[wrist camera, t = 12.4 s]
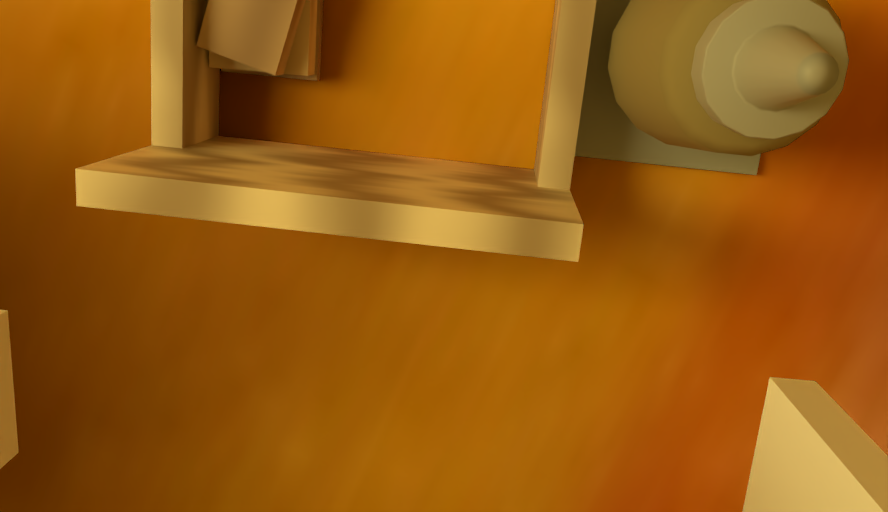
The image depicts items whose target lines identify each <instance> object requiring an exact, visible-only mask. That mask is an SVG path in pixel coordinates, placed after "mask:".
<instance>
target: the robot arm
mask: <svg viewBox="0 0 888 512" xmlns="http://www.w3.org/2000/svg"><path fill="white" fill-rule="evenodd" d="M18 453H19V450H18V437H17V424H16V411H15V398H14V385H13V372H12V359H11V345H10V332H9V319H8V310H0V469H1V468H2V467H3V466H4V465H5V464H6V463H8V462H9V461H10V460H11V459H12V458H13V457H14V456H15V455H16V454H18ZM743 512H888V456H887V455H886V454H885V453H884V452H883V451H882V449H881V448H880V447H879V446H878V445H877V444H876V443H875V442H874V441H873V440H872V439H871V438H870V437H869V436H868V435H867V434H866V433H865V432H864V431H863V430H862V429H861V428H860V427H859V426H858V425H857V424H856V423H855V422H854V421H853V419H852V418H851V417H850V416H849V415H848V414H847V413H846V412H845V411H844V410H843V409H842V408H841V407H840V406H839V405H838V404H837V403H836V402H835V401H834V400H833V399H832V398H831V397H830V396H829V395H828V394H827V393H826V392H825V391H824V390H823V388H822V387H821V386H820V385H819V384H818V383H817V382H816V381H809V380H798V379H786V378H775V377H770V379H769V384H768V388H767V393H766V398H765V403H764V408H763V413H762V418H761V423H760V428H759V433H758V438H757V443H756V448H755V453H754V458H753V463H752V468H751V472H750V477H749V482H748V487H747V492H746V497H745V502H744V507H743Z"/></svg>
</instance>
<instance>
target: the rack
mask: <svg viewBox="0 0 888 512" xmlns="http://www.w3.org/2000/svg"><path fill="white" fill-rule="evenodd" d="M207 4H208V0H151V131H152V145H151V146H147V147H144V148H141V149H138V150H134V151H131V152H128V153H125V154H121V155H118V156H115V157H112V158H109V159H105V160H102V161H99V162H96V163H92V164H89V165H86V166H83V167H79V168H76V169H75V175H76V206H82V207H91V208H100V209H109V210H118V211H127V212H136V213H145V214H154V215H163V216H172V217H180V218H189V219H198V220H207V221H216V222H225V223H234V224H243V225H252V226H261V227H270V228H279V229H288V230H297V231H306V232H315V233H324V234H333V235H342V236H351V237H360V238H368V239H377V240H386V241H395V242H404V243H413V244H422V245H431V246H440V247H449V248H458V249H467V250H476V251H485V252H494V253H503V254H512V255H521V256H530V257H539V258H547V259H556V260H565V261H574V262H578V260H579V254H580V247H581V240H582V233H583V226H584V224H583V221H582V219H581V216H580V214H579V211H578V209H577V206H576V204H575V202H574V199H573V197H572V194H571V192H570V186H571V178H572V171H573V164H574V157H575V150H576V143H577V136H578V129H579V121H580V114H581V107H582V100H583V93H584V86H585V79H586V72H587V64H588V57H589V50H590V43H591V36H592V29H593V22H594V15H595V7H596V0H556V2H555V10H554V18H553V25H552V33H551V41H550V49H549V57H548V65H547V73H546V81H545V88H544V96H543V104H542V112H541V120H540V128H539V136H538V144H537V151H536V159H535V167H534V169H526V168H516V167H507V166H497V165H488V164H479V163H469V162H460V161H450V160H441V159H432V158H422V157H413V156H403V155H394V154H385V153H375V152H366V151H357V150H347V149H338V148H328V147H319V146H310V145H300V144H291V143H281V142H272V141H263V140H253V139H244V138H234V137H225V136H219V89H220V68H212V67H209V50H206V49H203V48H201V47H198V46H196V45H197V41H198V38H199V34H200V30H201V26H202V23H203V19H204V15H205V11H206V7H207Z"/></svg>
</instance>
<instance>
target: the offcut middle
mask: <svg viewBox="0 0 888 512" xmlns="http://www.w3.org/2000/svg"><path fill="white" fill-rule="evenodd" d="M316 26H317V0H306V1H305V5H304V8H303V11H302V15H301V18H300V21H299V25H298V28H297V31H296V35H295V38H294V41H293V45H292V48H291V51H290V55H289V58H288V61H287V65H286V68H285V71H284V74H292V75H303V76H310V75H315V53H316ZM209 67H212V68H224V69H235V70H246V71H258V72H264V71H261V70H259V69H256V68H253V67H251V66H248V65H246V64H243V63H240V62H238V61H235V60H232V59H230V58H227V57H224V56H222V55H219V54H216V53H214V52H211V51H209Z"/></svg>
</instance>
